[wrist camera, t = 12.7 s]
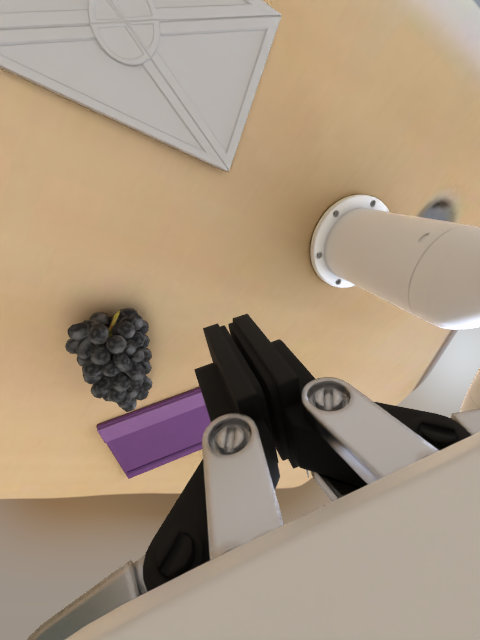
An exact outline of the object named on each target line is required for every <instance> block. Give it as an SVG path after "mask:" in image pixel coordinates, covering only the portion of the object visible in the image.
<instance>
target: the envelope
mask: <svg viewBox="0 0 480 640" xmlns="http://www.w3.org/2000/svg"><path fill="white" fill-rule="evenodd" d="M280 19H281V14H280V13H278V12H277V11H276V10H274V9H273V8H272V7H271V6H269V5H268V4H267V3H265V2H264V1H263V0H0V68H2V69H4V70H6V71H8V72H11V73H13V74H15V75H17V76H19V77H21V78H24V79H26V80H28V81H30V82H32V83H34V84H37V85H39V86H41V87H43V88H45V89H47V90H50V91H52V92H54V93H56V94H58V95H60V96H63V97H65V98H67V99H69V100H71V101H73V102H76V103H78V104H80V105H82V106H84V107H86V108H89V109H91V110H93V111H95V112H97V113H99V114H102V115H104V116H106V117H108V118H110V119H112V120H115V121H117V122H119V123H121V124H123V125H125V126H128V127H130V128H132V129H134V130H136V131H138V132H141V133H143V134H145V135H147V136H149V137H151V138H154V139H156V140H158V141H160V142H162V143H164V144H167V145H169V146H171V147H173V148H175V149H177V150H180V151H182V152H184V153H186V154H188V155H190V156H193V157H195V158H197V159H199V160H201V161H203V162H206V163H208V164H210V165H212V166H214V167H216V168H219V169H221V170H223V171H229V170H230V167H231V164H232V161H233V158H234V155H235V152H236V149H237V146H238V143H239V140H240V137H241V134H242V131H243V128H244V126H245V123H246V120H247V117H248V114H249V111H250V108H251V105H252V102H253V99H254V96H255V93H256V90H257V87H258V84H259V81H260V78H261V75H262V72H263V69H264V66H265V63H266V60H267V57H268V54H269V51H270V48H271V45H272V43H273V40H274V37H275V34H276V31H277V28H278V25H279V22H280Z"/></svg>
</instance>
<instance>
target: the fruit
mask: <svg viewBox="0 0 480 640" xmlns="http://www.w3.org/2000/svg"><path fill="white" fill-rule="evenodd" d="M148 328H149V326H148V323H147V322H146V321H145V320H143V319H142V317H140V316H139V315H138V314H137V312H136V311H135V310H134V309H133V308H126V309H121V310H119V311H118V312H117V313H116V314H115V315H114V317H111V318H110V317H109V316H108V315H107V314H106V313H103V312H97V313H94V314H93V315H92V316H91V318H90V320H88V321H84V322H83V323H78V324H74V325H72V326H71V327H70V328H69V329H68V335H69V337H70V338H71V339H69V340H68V341H67V343H66V346H65V347H66V350H67V351H68V352H69V353H72V354H76V353H77V355H78V356H77V362H78V363H79V365H80V366H82V370H83V378H84V380H85V382H87V383H89V384H93V386H92V388H91V393H92V394H93V396H94V397H97V398H102V397H103V398H104V400H105V401H113V402H115V403H117V404H118V405H119V407H121V408H122V409H123V410H125V411H126V412H128V411H131V410H134V409H135V407H136V399H137V400H143V399H145V398H146V397H147V396H148V393H149V392H148V390H150V388H151V387H152V381H151V379H149V378H148V377H147V376H145V375H146V374H148V373H149V372H150V370H151V365H150V362H148V361H149V360H150V359H151V357H152V356H151V351H150V350H149V349H148V348H146V347H147V346H148V344H149V341H150V340H149V338H148V336H147V335H145V333H146V332H147V331H148Z"/></svg>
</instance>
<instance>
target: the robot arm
mask: <svg viewBox="0 0 480 640" xmlns="http://www.w3.org/2000/svg"><path fill="white" fill-rule="evenodd" d="M310 254H311V262H312V266H313V268H314V270H315V272H316V274H317V275H318V276H319V278H321V279H322V280H323V281H324V282H326V283H328V284H329V285H331V286H334V287H339V288H347V287H352V286H355V285H356V286H358V287H360V288H361V289H363V290H365V291H367V292H369V293H371V294H373V295H375V296H377V297H379V298H381V299H383V300H385V301H387V302H389V303H391V304H392V305H394V306H396V307H398V308H400V309H402V310H404V311H406V312H408V313H410V314H412V315H414V316H416V317H418V318H420V319H422V320H424V321H426V322H428V323H430V324H432V325H435V326H438V327H441V328H446V329H470V328H476V327H480V227H478V226H472V225H465V224H458V223H452V222H446V221H440V220H434V219H428V218H422V217H416V216H410V215H404V214H398V213H392V212H389V211H388V209H387V207H386V206H385V205H384V203H383V202H381V201H380V200H379V199H377V198H375V197H372V196H370V195H352V196H348V197H345V198H343V199H341V200H339V201H338V202H336V203H335V204H334V205H332V206H331V207H330V208H329V209H328V210H327V211H326V212H325V213H324V215H323V216H322V218H321V219H320V221H319V222H318V224H317V226H316V228H315V230H314V234H313V237H312V240H311V248H310ZM203 330H204V334H205V337H206V341H207V344H208V347H209V351H210V354H211V357H212V361H213V363H211V364H208V365H206V366H203V367H200V368H197V369H194V370H195V373H196V376H197V379H198V383H199V386H200V389H201V392H202V395H203V398H204V402H205V405H206V408H207V411H208V414H209V417H210V421H211V423H210V424H209V426H208V427H207V428H206V430H205V432H204V434H203V439H202V449H203V460H202V461H201V463H200V464H199V466H198V468H197V469H196V471H195V473H194V474H193V476H192V477H191V479H190V481H189V482H188V484H187V485H186V487H185V489H184V490H183V492H182V493H181V495H180V497H179V498H178V500H177V501H176V503H175V505H174V506H173V508H172V509H171V511H170V513H169V514H168V516H167V517H166V519H165V521H164V523H163V524H162V526H161V527H160V529H159V530H158V532H157V534H156V535H155V537H154V538H153V540H152V542H151V544H150V546H149V548H148V550H147V552H146V554H145V555H144V556H143V557H142V558H140V559H139V560H138V561H136V562H135V563H133V562H132V561H131V560H130V561H128V562H127V563H126V564H124V565H123V566H122V567H120V568H119V569H118V570H116V571H115V572H113V573H112V574H111V575H109V576H108V577H107V578H105V579H104V580H102V581H101V582H100V583H98V584H97V585H95V586H94V587H93V588H91V589H90V590H89V591H87V592H86V593H85V594H83V595H82V596H80V597H79V598H78V599H76V600H75V601H74V602H72V603H71V604H69V605H68V606H67V607H65V608H64V609H63V610H61V611H60V612H58V613H57V614H56V615H54V616H53V617H52V618H50V619H49V620H47V621H46V622H45V623H43V624H42V625H41V626H40V627H39V628H38V629H37V630H36V631H35V632H34V633H32V634H31V635H30V637H29V638H28V639H27V640H480V368H479V370H478V372H477V374H476V375H475V378H474V379H473V382H472V383H471V385H470V387H469V389H468V392H467V393H466V395H465V398H464V400H463V403H462V405H461V409H460V412H458V413H453V414H452V416H451V418H448V417H445V416H442V415H439V414H434V413H429V412H425V411H419V410H414V409H409V408H403V407H398V406H393V405H388V404H383V403H377V402H373V401H372V400H370V399H369V398H368V397H366V396H365V395H364V394H362V393H361V392H359V391H358V390H357V389H355V388H354V387H353V386H351V385H350V384H349V383H347V382H345V381H343V380H341V379H337V378H332V377H323V378H318V379H315V378H314V377H313V376H312V375H311V373H310V372H309V371H308V370H307V369H306V368H305V367H304V365H303V364H302V363H301V362H300V361H299V360H298V359H297V358H296V356H295V355H294V354H293V353H292V352H291V351H290V350H289V348H288V347H287V346H286V345H285V344H284V343H283V342H282V341H281V340H276V341H273V342H270V341H269V340H268V339H267V337H266V336H265V335H264V334H263V332H262V331H261V330H260V329H259V327H258V326H257V325H256V324H255V322H254V321H253V320H252V319H251V318H250V316H249V315H248V314H245V315H242V316H239V317H236V318H233V323H230V324H229V330H230V334H231V335H230V334H229V332H228V330H227V329H226V327H225V326H221V327H219V325H218V324H215V325H212V326H209V327H206V328H203ZM275 447H276V448H275ZM276 449H277V451H278V453H279V455H280V457H281V459H282V460H283V461H284V460H286V459H289V461H290V463H291V465H292V467H293V469H294V468H296V467H298V466H299V467H300V468H303V469H306V470H309V471H311V474H312V476H313V478H314V479H315V481H316V482H317V483H318V485H319V486H320V487H321V488H322V489H323V491H324V492H325V493H326V494H327V496H328V497H329V498H330V500H331V501H332V502H330V503H329V504H326V505H324V506H322V507H320V508H318V509H316V510H314V511H312V512H310V513H308V514H305V515H303V516H301V517H299V518H297V519H295V520H293V521H291V522H289V523H287V524H285V525H284V523H283V519H282V516H281V512H280V508H279V505H278V501H277V498H276V494H275V488H276V486H277V483H278V481H279V478H280V474H279V469H278V464H277V463H278V458H277V453H276Z"/></svg>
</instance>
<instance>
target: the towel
mask: <svg viewBox="0 0 480 640" xmlns="http://www.w3.org/2000/svg"><path fill="white" fill-rule="evenodd" d="M210 423H211V421H210V417H209V414H208V411H207V408H206V405H205V402H204V398H203V395H202V392H201V389H200V387H199V388H196V389H193V390H190V391H188V392H185V393H182V394H180V395H177V396H174V397H171V398H169V399H166V400H163V401H160V402H158V403H155V404H152V405H150V406H147V407H144V408H141V409H139V410H136V411H133V412H130V413H128V414H125V415H122V416H120V417H117V418H114V419H111V420H109V421H106V422H103V423H101V424H98V425H97V431H98V433H99V434H100V436H101V437H102V439H103V441H104V442H105V443H107V445H108V447H109V448H110V450H111V451H112V453H113V455H114V456H115V458H116V459H117V461H118V463H119V464H120V466H121V468H122V469H123V471H124V472H125V474H126V476H127V477H128V479H129V478H132V477H134V476H137V475H139V474H142V473H144V472H147V471H149V470H151V469H154V468H156V467H159V466H161V465H164V464H166V463H169V462H171V461H174V460H176V459H179V458H181V457H184V456H186V455H188V454H191V453H193V452H196V451H198V450H201V449H202V439H203V434H204V432H205V430H206V428H207V427H208V426H209V424H210Z"/></svg>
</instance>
